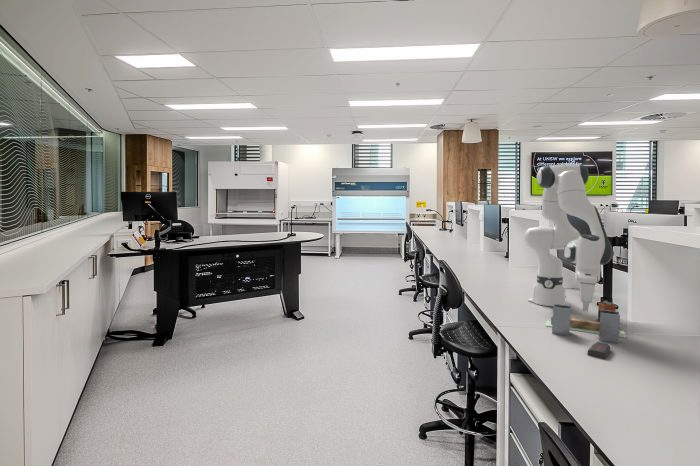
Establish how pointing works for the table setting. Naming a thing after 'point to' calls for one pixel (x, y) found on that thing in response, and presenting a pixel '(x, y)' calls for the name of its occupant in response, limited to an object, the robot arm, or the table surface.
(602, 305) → the battery
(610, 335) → the stand
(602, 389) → the table surface
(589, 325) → the rail
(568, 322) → the stand
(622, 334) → the mat
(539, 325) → the table surface
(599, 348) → the usb drive
